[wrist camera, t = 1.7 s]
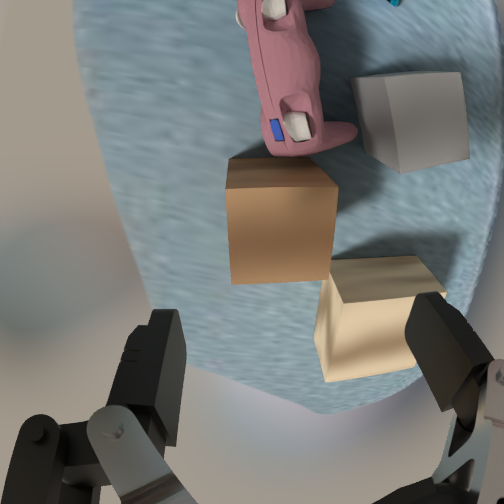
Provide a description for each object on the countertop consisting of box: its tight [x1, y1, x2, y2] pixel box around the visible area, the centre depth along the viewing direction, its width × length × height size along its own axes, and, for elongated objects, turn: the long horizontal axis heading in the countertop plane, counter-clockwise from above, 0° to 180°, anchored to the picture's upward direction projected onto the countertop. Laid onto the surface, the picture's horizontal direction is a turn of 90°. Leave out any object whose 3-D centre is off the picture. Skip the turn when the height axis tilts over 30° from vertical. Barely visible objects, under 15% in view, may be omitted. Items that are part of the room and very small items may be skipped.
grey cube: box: [349, 71, 470, 174], centre depth 15 cm, size 5×5×5 cm
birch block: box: [314, 255, 447, 382], centre depth 22 cm, size 8×8×5 cm
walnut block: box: [225, 157, 339, 285], centre depth 17 cm, size 5×5×6 cm
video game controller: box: [236, 0, 358, 157], centre depth 13 cm, size 10×5×7 cm, turn 11°
